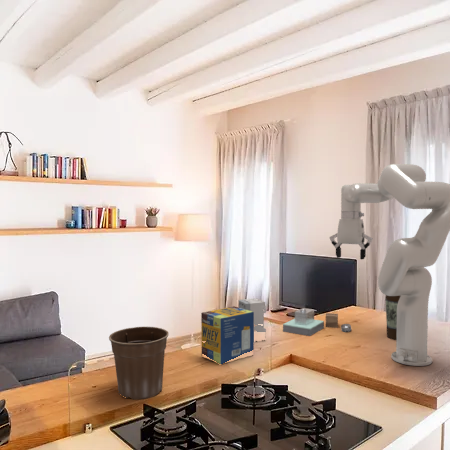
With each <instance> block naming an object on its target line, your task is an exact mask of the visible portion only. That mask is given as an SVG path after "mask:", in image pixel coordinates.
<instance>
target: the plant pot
mask: <svg viewBox="0 0 450 450" xmlns="http://www.w3.org/2000/svg"><path fill="white" fill-rule="evenodd" d="M168 337H169V331H168V330H166V329H164V328H162V327H156V326H135V327H128V328H122V329H119V330H116V331H114V332H112V333H111V334H109V337H108V340H109V341H110V343H111V344H110V345H111V351H112V353H113V358H114V359H113V360H114V365H115V375H116V383H117V390H118V391H119V392H118V394H119V393H120V394H121V395H122V396H124V397H126V398H125V399H128V398H131V399H132V400H146V399H150V398H153V397H155V396H157V395H158V394H159V393H160V392H162V390H163V381H164V379H163V377H164V368H165V367H164V365H165V354H166V353H165V351H166V349H167V341H168V340H167V339H168ZM120 394H119V395H120ZM122 396H121V397H122ZM124 397H123V398H124Z"/></svg>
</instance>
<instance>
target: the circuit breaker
mask: <svg viewBox="0 0 450 450" xmlns="http://www.w3.org/2000/svg"><path fill="white" fill-rule="evenodd" d="M238 308H242V309H245V310H249V311H252V312H254V324H255V325H257V326H255V327H254V330H256V331H257V332H266V333H267V329H266V328H265V315H264V314H266V313H267V306H266V301H264V300H262V299H259V298H246V299H238ZM258 324H263V326H261V325H258Z"/></svg>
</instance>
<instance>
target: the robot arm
mask: <svg viewBox="0 0 450 450" xmlns="http://www.w3.org/2000/svg"><path fill="white" fill-rule="evenodd" d="M426 179H427V174H426V171H425V169H423V168H422V167H421V166H419V165H417V164H414V163H413V164H410V163H407V164H405V163H392V164H391V163H390V164H388V165H386V166H385V167H384V168H383V169H382V170H381V173H380V176H379V178H378V180H377V183H371V182H369V183H368V182H367V183H366V182H364V183H360V182H359V183H352V184H344V185H343V186H341V188H340V189H341V190H340V191H341V192H340V193H341V195H340V198H341V199H340V201H341V202H340V205H341V206H340V207H341V209H340V212H341V213H340V219H339V221H338V224H337V225H338V226H337V231H336V233H335V234H333V235H331V236H329V239H330V243H331V244H332V245H333V247H334V248H335V256H336V258H337V259H339V258H341V257H342V248H341V246H342V245H359V247H360V248H361V249H360V250H359V251H360V252H359V254H360V255H359V257H360V258H359V259H360V260H364V259H365V258H366V257H367V254H366V253H367V252H366V250H367V248H368V247H369V246H370V245H371V243H372V242H373V240H374V239H373V238H372V237H371V236H369V235H367V234H366V233H365V225H364V219H362V217H364V216H365V213H364V212H362V209H361V204H379V203H384V202H387V201H390V200H392V199H395V200H396V201H397V202H398V203H400V204H401V205H402V206H403V207H405V208H407V209H410V210H431V212H429V213H428V214H427V215H426V216H425V217H424V218H423V219H422V221H421V222H420V225H419V227H418V229H417V231H416V233H415V235H414V236H413V237H403V238H402V237H401V238H399V239H396V240H394V241H393V242H392V243H391V244H390V245H389V247H388V249H387V252H386V253H385V256H384V260H383V262H382V264H381V267H380V271H379V273H378V277H377V285H378V288H379V289H378V290H380V292H381V293H382V294H384V295H385V296H386V295H387V296H401V297H400V299H399V301H398V305H397V340H396V346H395V347H396V349H395V350H396V351H393V352H392V353H391V355H390V356H391V359H392V360H393V361H394V362H396V363H399V364H402V365H407V366H414V367H425V366H430V365H431V364H432V363H433V358H432V356H430V355H429V354H428V335H429V334H428V327H429V326H428V323H429V322H428V321H429V319H428V318H429V317H428V315H429V300H430V293H431V289H432V284H433V278H432V274H431V273H430V271H429V269H427V267H431V266H433V265H434V264H435V263H436V262H437V261H438V258H439V256H440V255H441V251H442V250H443V247H444V245H445V242H446V240H447V237H448V235H449V233H450V183H447V182H443V181H426ZM336 240H337V242H336ZM365 241H367V242H366V243H365Z"/></svg>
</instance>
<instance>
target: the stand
mask: <svg viewBox="0 0 450 450" xmlns="http://www.w3.org/2000/svg"><path fill="white" fill-rule="evenodd" d="M324 328H325V321H324V320H320V319H314V322H312V323H310V324H308V325H306V326H305V325H299V324H295V318H293V319H290V320H288V321H287V322H285V323H282V332H284V333H290V334H297V335H303V336H306V337H307V336H308V337H312V336H313V335H314V334H316V333H319V332H320V331H322V330H323V329H324Z"/></svg>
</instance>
